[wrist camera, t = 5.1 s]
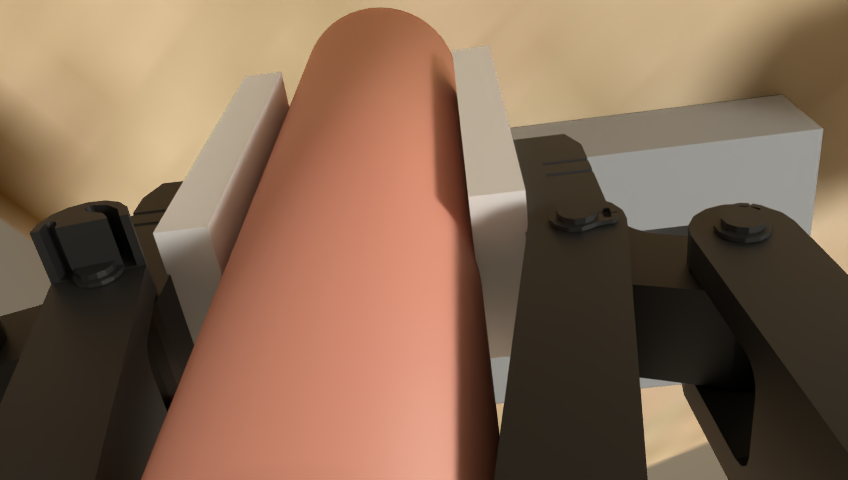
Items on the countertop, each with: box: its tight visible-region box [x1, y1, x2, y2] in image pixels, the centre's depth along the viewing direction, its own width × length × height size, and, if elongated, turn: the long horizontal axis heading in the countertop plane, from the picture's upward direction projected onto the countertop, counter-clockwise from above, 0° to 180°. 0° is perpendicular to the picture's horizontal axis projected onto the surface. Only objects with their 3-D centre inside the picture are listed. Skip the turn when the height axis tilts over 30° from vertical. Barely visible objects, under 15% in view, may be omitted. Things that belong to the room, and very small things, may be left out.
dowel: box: [141, 8, 500, 480], centre depth 13 cm, size 4×4×14 cm
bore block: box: [490, 95, 823, 404], centre depth 36 cm, size 12×20×4 cm, turn 97°
